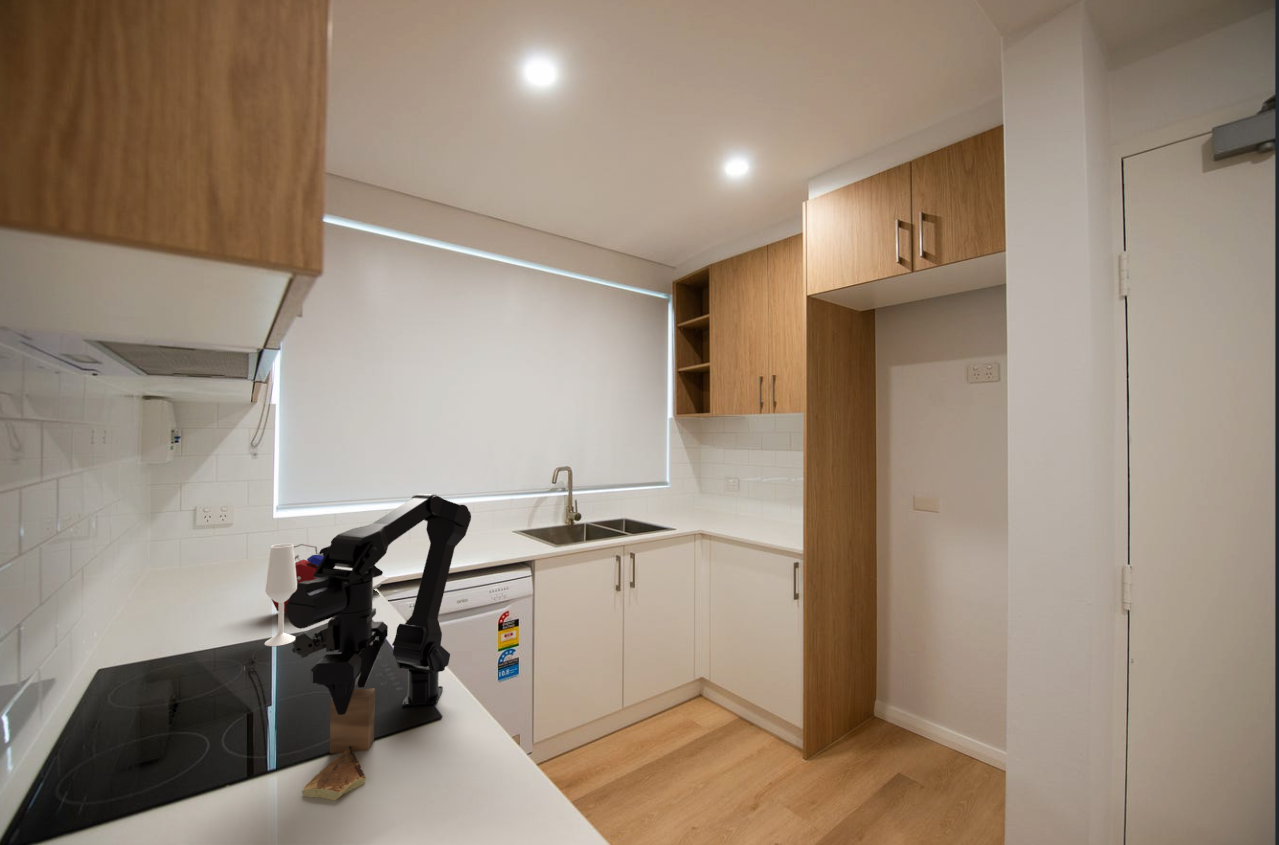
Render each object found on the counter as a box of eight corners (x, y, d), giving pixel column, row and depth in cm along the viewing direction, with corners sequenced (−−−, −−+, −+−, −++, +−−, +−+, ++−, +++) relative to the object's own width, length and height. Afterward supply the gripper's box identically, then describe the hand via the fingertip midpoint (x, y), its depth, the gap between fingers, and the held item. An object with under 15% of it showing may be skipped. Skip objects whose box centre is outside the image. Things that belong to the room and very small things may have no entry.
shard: (350, 754, 90) (350, 743, 90) (391, 759, 89) (392, 748, 89) (299, 798, 79) (299, 786, 79) (346, 805, 78) (346, 792, 78)
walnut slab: (337, 742, 93) (338, 690, 93) (374, 739, 94) (375, 687, 94) (329, 753, 90) (330, 699, 90) (368, 750, 91) (368, 696, 91)
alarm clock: (331, 606, 162) (332, 539, 162) (327, 615, 154) (328, 545, 154) (272, 612, 156) (274, 543, 156) (265, 622, 148) (266, 549, 148)
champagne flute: (302, 635, 139) (303, 542, 139) (285, 646, 132) (286, 548, 133) (276, 635, 139) (277, 542, 139) (258, 646, 132) (259, 548, 133)
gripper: (325, 593, 99) (323, 677, 99) (274, 630, 81) (271, 734, 81) (389, 590, 101) (387, 674, 101) (353, 627, 83) (351, 728, 83)
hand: (352, 699), depth 91 cm, fingers open, 9 cm apart
